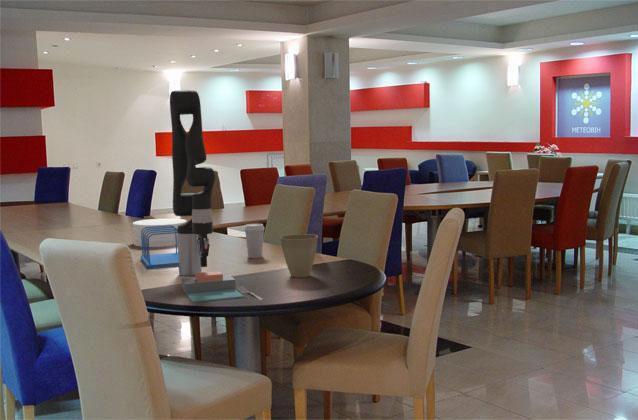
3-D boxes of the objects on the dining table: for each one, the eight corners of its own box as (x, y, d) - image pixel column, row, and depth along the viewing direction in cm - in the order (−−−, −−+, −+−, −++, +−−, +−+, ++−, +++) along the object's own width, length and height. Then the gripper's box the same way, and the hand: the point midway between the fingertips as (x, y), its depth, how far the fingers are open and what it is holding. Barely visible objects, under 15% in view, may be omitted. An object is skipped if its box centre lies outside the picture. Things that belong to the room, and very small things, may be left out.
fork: (264, 304, 234) (264, 299, 234) (235, 291, 255) (235, 286, 255) (273, 303, 236) (273, 298, 236) (243, 290, 257) (243, 285, 257)
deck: (181, 289, 258) (181, 278, 257) (229, 284, 264) (228, 274, 263) (186, 294, 248) (185, 283, 248) (235, 290, 254) (235, 279, 254)
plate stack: (170, 237, 390) (169, 217, 389) (197, 242, 370) (196, 221, 368) (124, 243, 371) (123, 222, 370) (150, 249, 351) (149, 226, 350)
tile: (195, 279, 255) (195, 273, 255) (219, 277, 258) (219, 271, 258) (198, 282, 249) (198, 276, 249) (223, 280, 252) (222, 274, 252)
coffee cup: (252, 259, 317) (252, 226, 315) (240, 256, 324) (239, 224, 322) (269, 256, 323) (268, 224, 322) (257, 254, 330) (256, 222, 329)
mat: (186, 295, 248) (186, 293, 248) (235, 290, 254) (235, 289, 254) (192, 302, 237) (192, 301, 237) (243, 297, 243) (243, 296, 243)
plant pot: (315, 271, 287) (314, 233, 286) (321, 278, 273) (320, 238, 271) (279, 273, 285) (278, 234, 283) (283, 280, 270) (282, 240, 268)
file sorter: (140, 259, 321) (139, 226, 320) (178, 256, 328) (177, 224, 326) (147, 269, 298) (146, 233, 296) (188, 265, 304) (187, 231, 303)
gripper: (189, 219, 264) (190, 264, 266) (195, 223, 252) (196, 270, 253) (208, 218, 267) (210, 263, 268) (215, 222, 254) (217, 268, 256)
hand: (203, 266), depth 261 cm, fingers closed
